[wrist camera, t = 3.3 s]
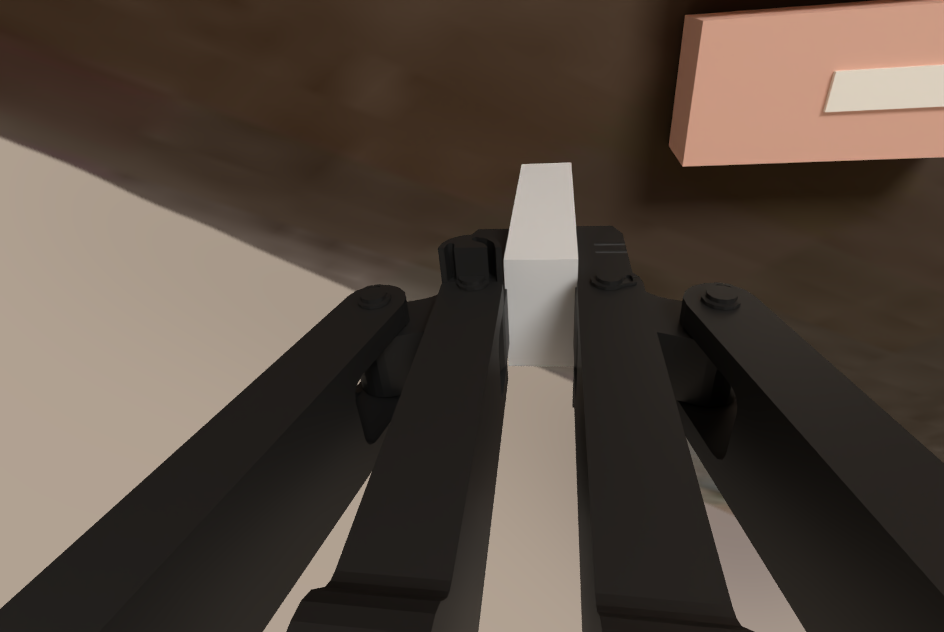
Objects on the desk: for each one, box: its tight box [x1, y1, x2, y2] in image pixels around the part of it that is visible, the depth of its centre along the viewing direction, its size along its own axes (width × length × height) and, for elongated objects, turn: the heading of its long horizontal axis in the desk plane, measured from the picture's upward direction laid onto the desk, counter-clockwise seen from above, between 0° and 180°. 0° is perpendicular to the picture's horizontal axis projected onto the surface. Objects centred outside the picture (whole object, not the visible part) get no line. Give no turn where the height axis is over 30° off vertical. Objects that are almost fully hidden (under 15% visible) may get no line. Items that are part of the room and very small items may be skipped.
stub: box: [669, 0, 944, 167], centre depth 23 cm, size 13×6×4 cm, turn 95°
